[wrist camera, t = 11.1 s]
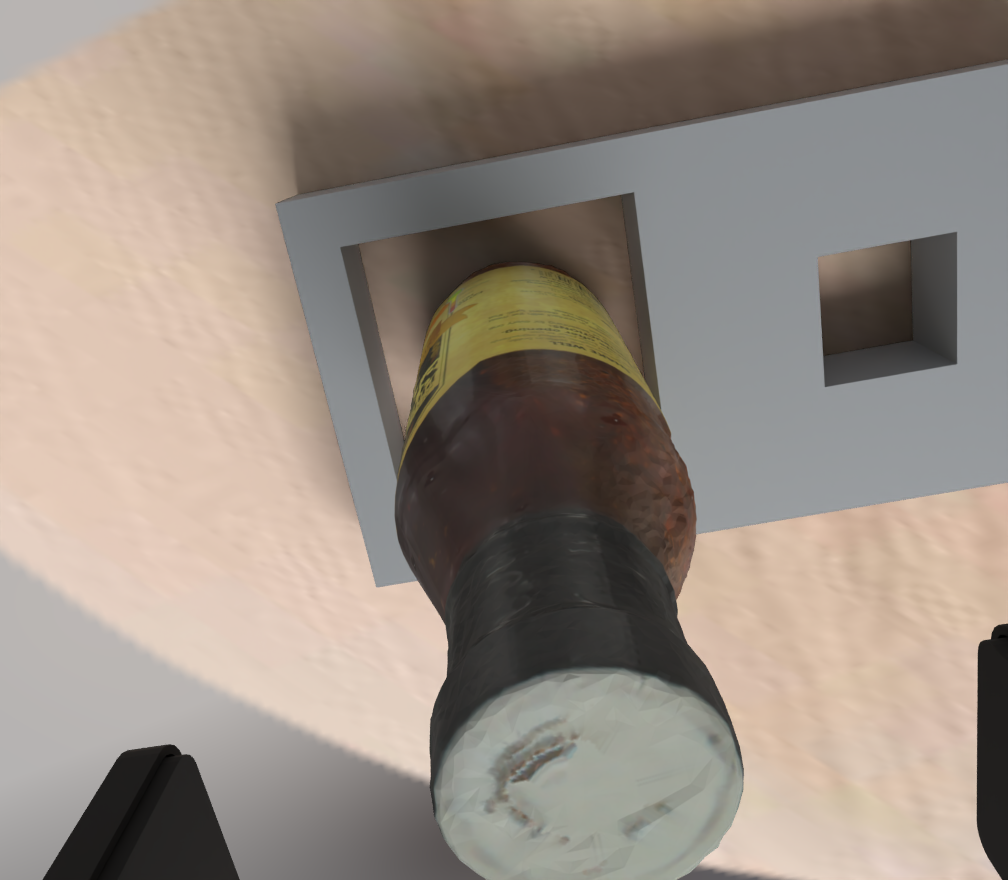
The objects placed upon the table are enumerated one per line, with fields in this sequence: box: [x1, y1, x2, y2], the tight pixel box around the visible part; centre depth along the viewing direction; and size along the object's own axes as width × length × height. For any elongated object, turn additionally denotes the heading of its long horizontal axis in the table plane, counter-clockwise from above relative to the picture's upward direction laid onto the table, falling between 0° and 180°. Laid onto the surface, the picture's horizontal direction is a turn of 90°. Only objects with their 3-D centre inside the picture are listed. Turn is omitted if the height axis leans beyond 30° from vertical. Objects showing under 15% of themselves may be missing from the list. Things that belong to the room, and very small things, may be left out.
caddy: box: [275, 59, 1008, 587], centre depth 28 cm, size 23×12×3 cm, turn 100°
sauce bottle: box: [394, 262, 744, 880], centre depth 20 cm, size 6×6×20 cm
